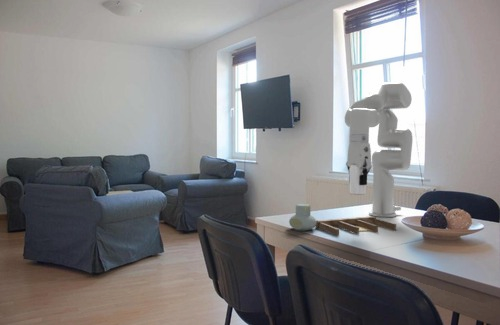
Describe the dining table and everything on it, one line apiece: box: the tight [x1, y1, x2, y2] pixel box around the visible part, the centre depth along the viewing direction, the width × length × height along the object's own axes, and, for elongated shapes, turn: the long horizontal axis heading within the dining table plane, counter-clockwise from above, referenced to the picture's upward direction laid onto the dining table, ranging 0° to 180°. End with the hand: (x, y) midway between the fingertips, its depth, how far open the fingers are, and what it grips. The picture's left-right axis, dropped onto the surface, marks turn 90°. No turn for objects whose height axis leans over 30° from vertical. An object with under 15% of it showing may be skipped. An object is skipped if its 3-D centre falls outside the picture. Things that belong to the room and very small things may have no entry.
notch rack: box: [314, 215, 397, 237], centre depth 165 cm, size 29×15×3 cm, turn 111°
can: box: [348, 164, 367, 196], centre depth 164 cm, size 6×6×12 cm
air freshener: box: [288, 203, 317, 232], centre depth 163 cm, size 11×8×10 cm
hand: (357, 183), depth 164 cm, fingers closed on can, 6 cm apart
